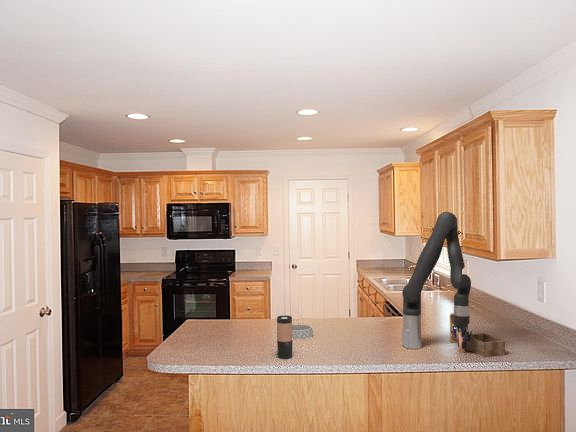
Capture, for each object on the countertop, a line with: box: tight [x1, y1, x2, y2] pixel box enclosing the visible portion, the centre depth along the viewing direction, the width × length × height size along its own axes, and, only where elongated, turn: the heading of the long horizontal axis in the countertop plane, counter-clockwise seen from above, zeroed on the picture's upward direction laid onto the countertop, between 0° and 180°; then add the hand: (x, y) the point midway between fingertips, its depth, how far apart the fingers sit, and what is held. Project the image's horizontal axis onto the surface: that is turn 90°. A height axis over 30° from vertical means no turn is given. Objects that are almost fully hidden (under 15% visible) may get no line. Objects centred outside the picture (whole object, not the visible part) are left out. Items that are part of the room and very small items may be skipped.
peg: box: [458, 332, 466, 354], centre depth 237 cm, size 3×3×10 cm
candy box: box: [449, 312, 458, 344], centre depth 254 cm, size 9×4×15 cm, turn 60°
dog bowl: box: [292, 323, 314, 340], centre depth 275 cm, size 17×18×5 cm
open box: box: [465, 332, 506, 358], centre depth 237 cm, size 12×16×7 cm
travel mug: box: [276, 315, 293, 360], centre depth 234 cm, size 8×8×20 cm
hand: (462, 347), depth 237 cm, fingers closed on peg, 3 cm apart
